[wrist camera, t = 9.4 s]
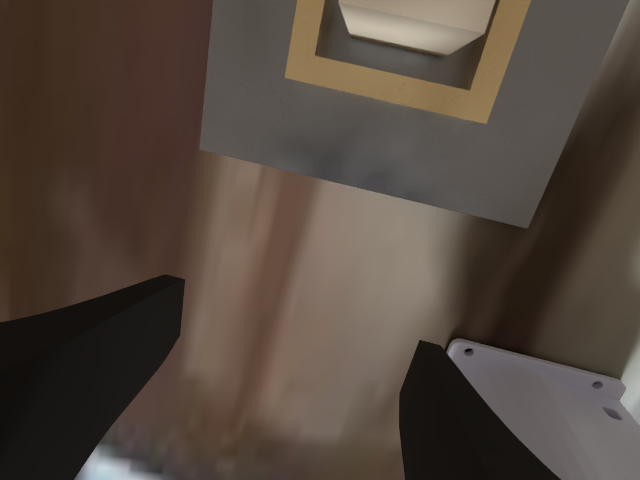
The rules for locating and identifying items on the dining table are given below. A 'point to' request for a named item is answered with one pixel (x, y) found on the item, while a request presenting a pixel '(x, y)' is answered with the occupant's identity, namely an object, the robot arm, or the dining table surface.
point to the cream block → (418, 22)
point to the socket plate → (406, 100)
